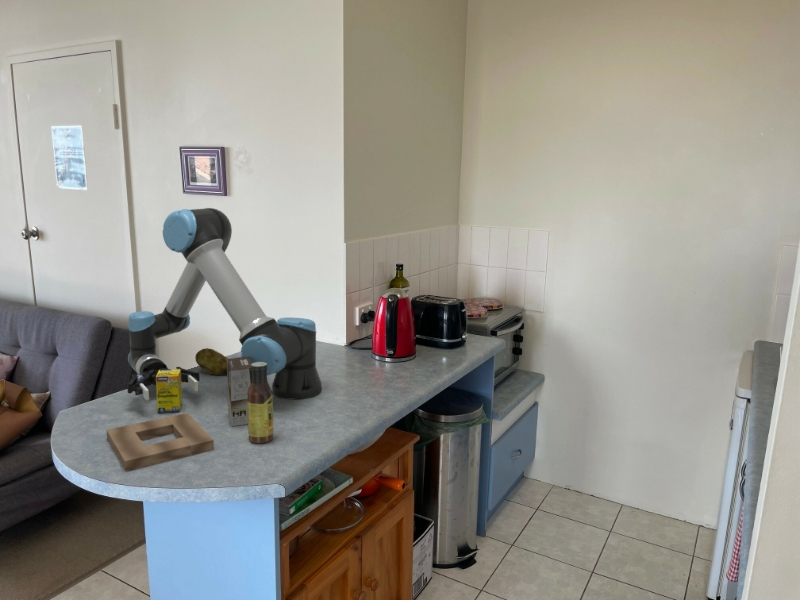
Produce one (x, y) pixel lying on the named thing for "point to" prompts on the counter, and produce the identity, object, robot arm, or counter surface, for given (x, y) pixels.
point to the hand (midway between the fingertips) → (172, 390)
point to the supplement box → (169, 391)
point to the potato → (212, 361)
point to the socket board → (137, 455)
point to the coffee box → (238, 389)
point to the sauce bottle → (260, 405)
